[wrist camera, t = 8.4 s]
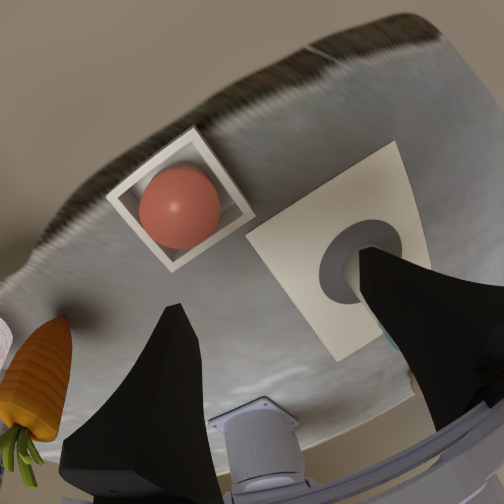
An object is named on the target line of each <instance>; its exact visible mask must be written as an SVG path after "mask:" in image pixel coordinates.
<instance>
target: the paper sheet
mask: <svg viewBox="0 0 504 504" xmlns="http://www.w3.org/2000/svg"><path fill="white" fill-rule="evenodd" d="M245 236H246V238H247V239H248V241H249V242H250V243H251V245H252V246H253V247H254V249H255V250H256V252H257V253H258V254H259V256H260V257H261V258H262V260H263V261H264V262H265V264H266V265H267V267H268V268H269V269H270V271H271V272H272V273H273V275H274V276H275V278H276V279H277V280H278V282H279V283H280V284H281V286H282V287H283V289H284V290H285V291H286V293H287V294H288V295H289V297H290V298H291V300H292V301H293V302H294V304H295V305H296V306H297V308H298V309H299V311H300V312H301V313H302V315H303V316H304V317H305V319H306V320H307V322H308V323H309V324H310V326H311V327H312V328H313V330H314V331H315V333H316V334H317V335H318V337H319V338H320V339H321V341H322V342H323V344H324V345H325V346H326V348H327V349H328V351H329V352H330V353H331V355H332V356H333V357H334V359H335V360H336V362H339V361H341V360H342V359H344V358H346V357H347V356H349V355H350V354H352V353H354V352H355V351H357V350H359V349H360V348H362V347H363V346H365V345H366V344H368V343H369V342H371V341H373V340H374V339H376V338H377V337H379V336H380V335H382V334H383V331H382V330H381V328H380V327H379V326H378V324H377V323H376V322H375V320H374V319H373V317H372V316H371V315H370V313H369V312H368V311H367V309H366V308H365V306H364V305H363V304H362V302H361V301H360V300H359V298H358V297H357V296H356V294H355V293H354V292H353V290H352V289H351V288H350V286H349V285H348V284H347V283H346V281H345V280H344V278H343V275H342V267H343V263H344V261H345V259H346V257H347V256H348V255H349V253H350V252H351V251H352V250H354V249H355V248H356V247H358V246H360V245H363V244H367V243H372V244H375V245H377V246H379V247H380V248H381V249H382V250H383V251H386V252H388V253H390V254H393V255H395V256H397V257H400V258H402V259H404V260H407V261H409V262H412V263H414V264H416V265H419V266H421V267H424V268H427V269H429V270H432V269H431V264H430V259H429V254H428V250H427V245H426V241H425V237H424V233H423V228H422V225H421V221H420V217H419V213H418V210H417V206H416V203H415V199H414V196H413V192H412V189H411V186H410V183H409V180H408V177H407V174H406V171H405V168H404V165H403V162H402V159H401V156H400V154H399V151H398V148H397V145H396V143H395V141H392V142H391V143H389V144H387V145H386V146H384V147H382V148H381V149H379V150H378V151H376V152H374V153H373V154H371V155H369V156H368V157H366V158H365V159H363V160H361V161H360V162H358V163H357V164H355V165H353V166H352V167H350V168H349V169H347V170H345V171H344V172H342V173H341V174H339V175H337V176H336V177H334V178H333V179H331V180H330V181H328V182H326V183H325V184H323V185H322V186H320V187H318V188H317V189H315V190H314V191H312V192H311V193H309V194H307V195H306V196H304V197H303V198H301V199H300V200H298V201H297V202H295V203H293V204H292V205H290V206H289V207H287V208H286V209H284V210H283V211H281V212H279V213H278V214H276V215H275V216H273V217H272V218H270V219H269V220H267V221H265V222H264V223H262V224H261V225H259V226H258V227H256V228H255V229H253V230H252V231H250V232H249V233H247V234H245Z"/></svg>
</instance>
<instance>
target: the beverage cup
mask: <svg viewBox="0 0 504 504" xmlns="http://www.w3.org/2000/svg"><path fill="white" fill-rule="evenodd" d="M12 338H13V336H12V333H11V331H10V329H9V327H8V326H7V324H6V323H5V322H4V321H3V320H2V319H1V318H0V371H1V369H2V366H3V363H4V361H5V358H6V356H7V353H8V351H9V348H10V346H11V344H12Z"/></svg>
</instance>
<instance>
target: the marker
mask: <svg viewBox="0 0 504 504" xmlns="http://www.w3.org/2000/svg"><path fill="white" fill-rule="evenodd" d="M371 246H373V247H376V248H378V249H381V248H380V247H379V246H377V245H375V244H372V243H367V244H363V245H360V246H358V247H356V248H355V249H354V250H352V251H351V252H350V253H349V255H348V256H347V257H346V259H345V261H344V263H343V267H342V275H343V278H344V280H345V281H346V283H347V284H348V285H349V286H350V288H351V289H352V290H353V292H354V293H355V294H356V296H357V297H358V298H359V300H360V301H361V302H362V304H363V305H364V306H365V308H366V309H367V311H368V312H369V313H370V315H371V316H372V317H373V319H374V320H375V322H376V323H377V324H378V326H379V327H380V328H381V330H382V331H383V333H384V334H385V335H386V337H387V338H388V340H389V341H390V342H391V344H392V345H393V347H394V348H395V349H397V350H400V349H399V348H398V346H397V345H396V344H395V342H394V341H393V339H392V338H391V337H390V335H389V334H388V333H387V331H386V330H385V329H384V327H383V326H382V325H381V323H380V322H379V321H378V319H377V318H376V317H375V315H374V314H373V313H372V311H371V310H370V308H369V306H368V305H367V303H366V301H365V299H364V298H363V296H362V294H361V292H360V280H359V250H362V249H365V248H368V247H371ZM381 250H382V249H381Z"/></svg>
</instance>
